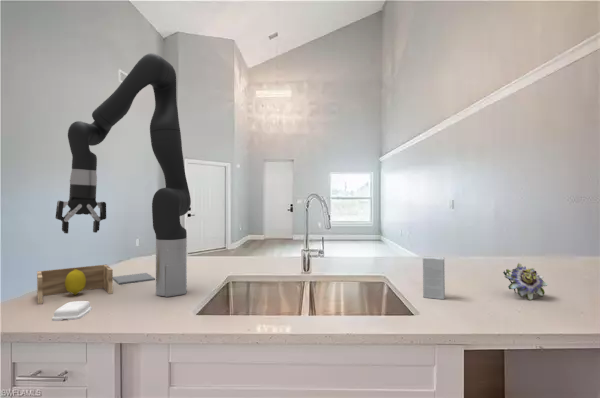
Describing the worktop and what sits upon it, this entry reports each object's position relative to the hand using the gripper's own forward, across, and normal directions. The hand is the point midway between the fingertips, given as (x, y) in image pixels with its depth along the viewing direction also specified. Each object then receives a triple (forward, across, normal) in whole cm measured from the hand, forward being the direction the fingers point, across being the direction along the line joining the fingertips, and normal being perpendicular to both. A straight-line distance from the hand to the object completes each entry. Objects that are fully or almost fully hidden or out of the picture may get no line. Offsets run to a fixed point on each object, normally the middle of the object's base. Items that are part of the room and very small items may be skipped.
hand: (81, 232), depth 119 cm
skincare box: (+12, +71, -90) cm, 115 cm away
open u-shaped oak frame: (+18, -3, -8) cm, 20 cm away
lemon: (+18, -3, -8) cm, 20 cm away
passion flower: (+10, +91, -109) cm, 143 cm away
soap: (+18, -9, -29) cm, 35 cm away
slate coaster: (+18, +18, +1) cm, 26 cm away
